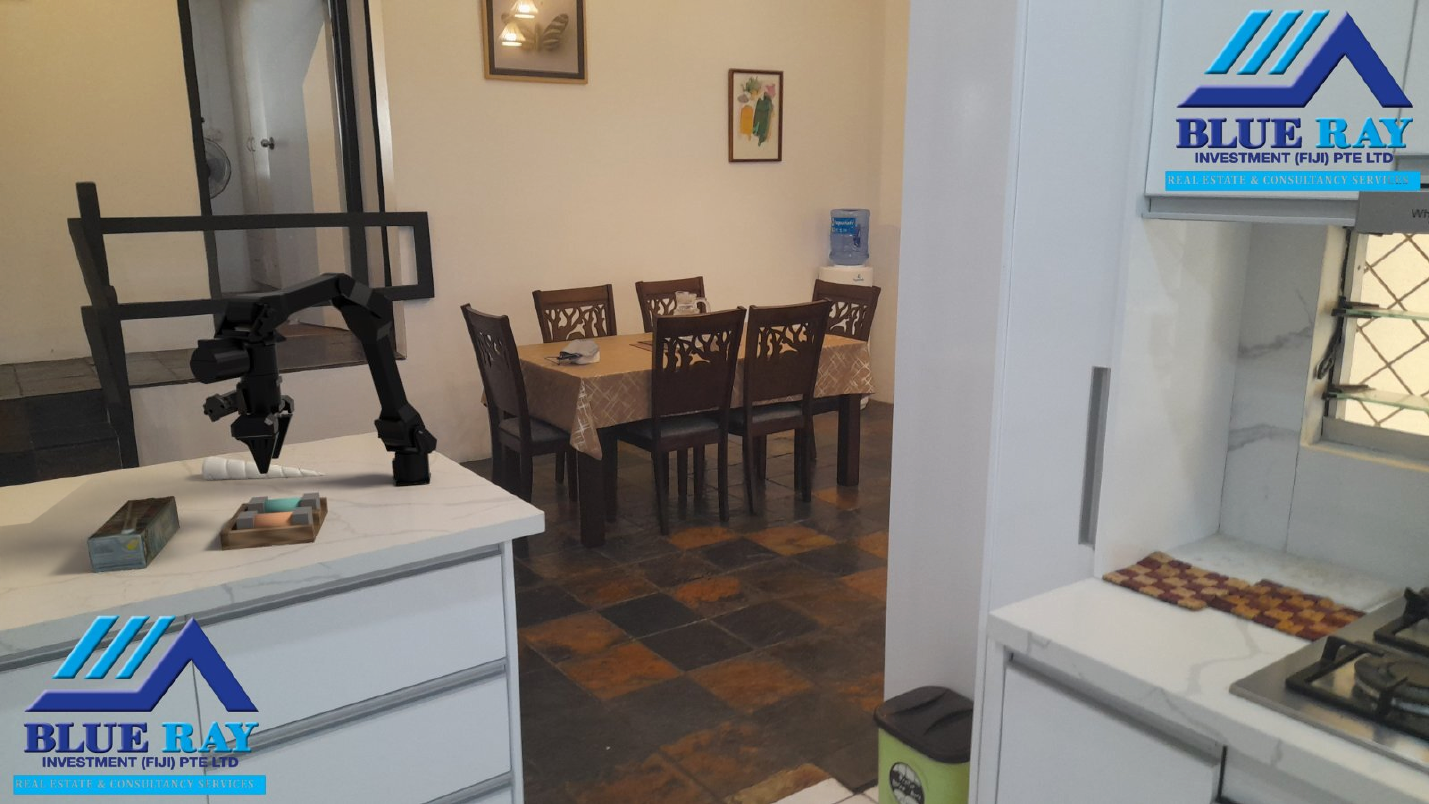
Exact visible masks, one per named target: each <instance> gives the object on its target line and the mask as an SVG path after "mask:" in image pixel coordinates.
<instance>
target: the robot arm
mask: <svg viewBox="0 0 1429 804" xmlns="http://www.w3.org/2000/svg"><path fill="white" fill-rule="evenodd" d="M328 301H329V303H330V306H332V307H333V308H334V309H336V310H337V311H338V312H340V314H341V316H342V318H343V320H344V322H345V324H346V326H347V328H348V330H349V331H350V332H351V333H352V334H353V335H354V336H355V337H356V338H358V340H359V341H360V343H361V346H362V349H363V352H364V355H365V359H366V362H367V365H368V368H369V372H370V374H371V378H372V381H373V384H374V388H375V392H376V394H377V397H378V401H379V403H380V408H381V410H380V412H379V416H378V418H376V419H374V421H373V425H374V426H375V428H376V432H377V439H381V441H382V443H383V445H384V448H385V450H386V452H389V453H393V454H394V457H393V458H392V461H391V464H392V477H393V481H395V486H397V487H398V486H399V487H401V486H410V485H414V486H415V485H425V484H427V485H428V484H430V483H431V479H432V472H431V471H430V470H431V469H430V456H429V454H433V452H435V451H436V450H437V444H438V438H436V437H435V436H434V435H433V434H432V433H431V431H429V430H428V428H427V427H426V425H425V423H424V420H423V419H422V416H421V414H420V412H419V411H418V410H417V409H416V408H415V407H414V406H413V405H412V404H411V403H410V402H409V400H408V399H407V395H406V391H405V388H404V385H403V381H402V378H401V375H400V371H399V367H398V364H397V361H396V357H395V355H394V351H393V347H392V343H391V341H390V337H389V333H390V329H391V326H392V324H393V316H392V310H391V303H390V301H389V299H388V297H387V296H386V295H384V294H383V293H381V292H377V290H374V289H373V288H372V287H370V286H368V285H366V284H363V283H361V282H359V281H357V280H355V278H353V277H352V276H350V275H348V274H347V273H345V272H329V271H328V272H324V273H322V274H320V275H319V276H315V277H313V278H310V279H308V280H304V281H302V282H299V283H296V284H293V285H290V286H286V287H283V288H280V289H278V290H275V291H270V292H257V293H256V292H255V293H252V292H251V293H244V294H243V293H242V294H237V295H233V296H232V297H230V298H229V299H228V301H227V302H228V303H227V305H226V309H225V312H224V313H223V316H222V318H221V320H220V322H219V324H218V326H217V329H216V330H215V332H214V334H213V337H212V338H201V339H200V338H199V339H197V340H196V342H197V348H196V349H195V348H194V351H193V352H191V353H192V354H191V357H190V360H189V367H190V370H191V371H190V372H191V373H192V375H193V377H194V378H195V379H196V380H197V381H198V382H200V383H201V384H203V385H210V384H215V383H220V382H224V381H225V382H226V381H228V380H232V379H239V378H240V379H239V381H238V382H237V383H236V384H235V388H236V389H232V390H230V391H228V392H226V393H223V394H219V393H214V394H213V395H211V396H210V395H209V396H208V397H206V398H205V402H204V403H203V404H202V408H203V414H204V416H208V417H209V420H210V421H211V423H215V422H217V421H219V420H220V419H221V418H224V417H227V416H229V415H232V414H234V413H236V412H237V414H238V416H237V418H235V420H234V421H232V423H231V424H230V432H231V433H230V435H231V436H230V437H232V438H234V439H235V440H236V441H239V442H241V443H243V444H244V445H246V446H247V447H248V449H249V451H250V453H251V456H252V458H253V462H255V463H256V465H257V468H258V470H259V472H260V474H267V473H268V470H269V467H270V465H271V461H272V460H277V459H279V458H280V455H281V452H282V449H283V445H284V443H285V440H286V436H287V434H288V430H289V427H290V425H291V421H292V419H293V416H294V414H293V413H294V412H295V401H294V399H293V398H292V397H291V396H290V395H288V394H282V390H281V384H282V383H283V375H280V370H279V362H278V352H277V344H279V343H285V342H286V341H287V337H286V336H284V335H283V334H282V333H280V332H279V331H278V330H277V329H278V328H279V327H281V326H282V325H284V324H285V323H286V322H288V319H289V317H290V316H292V315H294V314H295V313H298V312H300V311H304V310H306V309H308V308H312V307H314V306H317V305H320V304H323V303H326V302H328ZM285 411H287V413H285Z"/></svg>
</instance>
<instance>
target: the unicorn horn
mask: <svg viewBox="0 0 1429 804" xmlns="http://www.w3.org/2000/svg"><path fill="white" fill-rule="evenodd" d="M201 465H202V466H201V475H202V478H203V479H204V480H205V481H214V480H215V481H220V480H221V481H223V480H222V479H227V480H247V479H248V480H249V478H250V479H251V480H252V479H253V480H257V479H258V478H259V480H260V479H268V478H269V479H283V478H287V477H289V478H303V477H305V478H306V477H307V478H310V477H322V476H325V475H326V474H325V473H323V472H320V471H313V470H309V469H303V468H296V467H291V466H290V467H289V466H283V465H282V466H280V465H277V464H270V467H269V470H268V473H267V474H260V472H259V470H258V468H257V465H256V463H255V461H247V460H246V461H245V460H241V459H240V460H239V459H233V458H228V459H227V458H224V457H218V456H217V457H216V456H208V457H206V458H205V459H204V460H203V463H202V464H201Z"/></svg>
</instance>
